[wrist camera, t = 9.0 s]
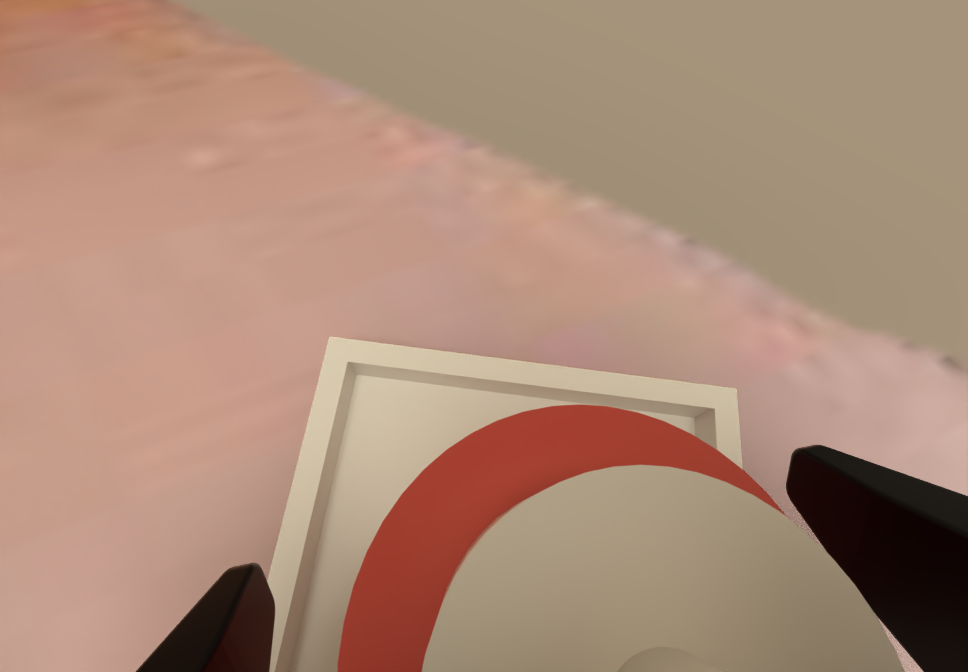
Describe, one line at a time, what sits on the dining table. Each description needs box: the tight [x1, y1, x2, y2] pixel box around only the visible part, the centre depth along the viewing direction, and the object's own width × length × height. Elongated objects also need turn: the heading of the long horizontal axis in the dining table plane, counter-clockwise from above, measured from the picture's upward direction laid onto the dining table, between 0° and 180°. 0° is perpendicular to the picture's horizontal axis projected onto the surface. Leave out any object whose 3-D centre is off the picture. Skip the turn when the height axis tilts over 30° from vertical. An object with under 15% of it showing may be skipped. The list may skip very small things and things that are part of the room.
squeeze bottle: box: [337, 404, 905, 672], centre depth 9 cm, size 6×6×15 cm
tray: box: [267, 337, 743, 672], centre depth 15 cm, size 14×13×2 cm
